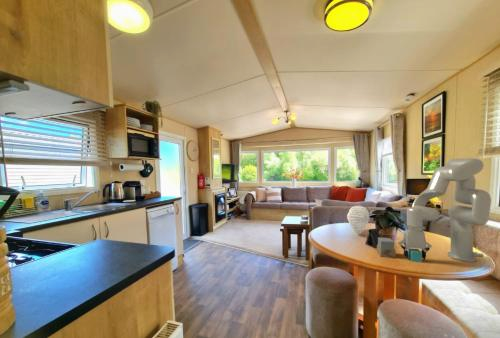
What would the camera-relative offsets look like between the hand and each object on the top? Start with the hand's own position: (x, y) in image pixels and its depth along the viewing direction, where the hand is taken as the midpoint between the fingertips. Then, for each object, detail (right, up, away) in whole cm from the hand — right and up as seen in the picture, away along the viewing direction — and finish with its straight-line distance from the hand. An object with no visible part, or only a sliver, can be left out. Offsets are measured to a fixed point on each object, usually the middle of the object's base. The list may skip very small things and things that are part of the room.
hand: (414, 257), depth 126 cm
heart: (-9, -1, +48) cm, 49 cm away
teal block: (0, -2, 0) cm, 2 cm away
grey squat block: (-12, +3, +8) cm, 15 cm away
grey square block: (-12, -2, +8) cm, 15 cm away
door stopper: (-11, -2, +23) cm, 25 cm away
